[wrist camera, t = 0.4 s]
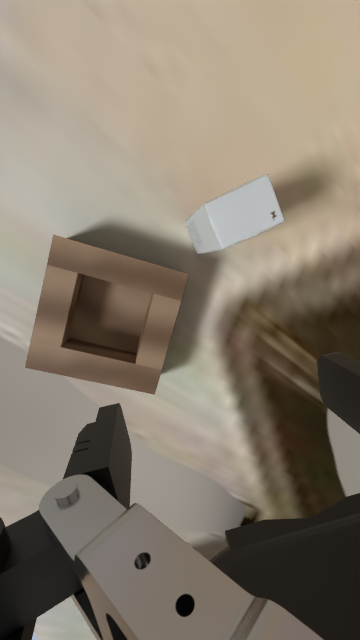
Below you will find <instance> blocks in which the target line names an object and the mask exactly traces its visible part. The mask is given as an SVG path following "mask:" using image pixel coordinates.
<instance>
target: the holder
mask: <svg viewBox="0 0 360 640" xmlns="http://www.w3.org/2000/svg"><path fill="white" fill-rule="evenodd" d="M188 276H189V274H187V273H184V272H180V271H177V270H174V269H170V268H167V267H163V266H160V265H156V264H153V263H149V262H146V261H142V260H139V259H136V258H132V257H129V256H125V255H122V254H118V253H115V252H111V251H108V250H104V249H101V248H98V247H94V246H91V245H87V244H84V243H80V242H77V241H73V240H70V239H67V238H63V237H60V236H56V235H53V239H52V244H51V249H50V253H49V258H48V263H47V268H46V272H45V277H44V282H43V286H42V291H41V296H40V300H39V305H38V310H37V314H36V319H35V324H34V328H33V333H32V338H31V342H30V347H29V352H28V357H27V361H26V366H25V367H26V368H30V369H35V370H40V371H44V372H49V373H54V374H59V375H64V376H68V377H73V378H78V379H83V380H88V381H92V382H97V383H102V384H107V385H112V386H116V387H121V388H126V389H131V390H136V391H141V392H145V393H150V394H155V391H156V388H157V384H158V381H159V377H160V374H161V370H162V367H163V363H164V360H165V356H166V353H167V349H168V346H169V342H170V339H171V335H172V332H173V328H174V325H175V321H176V318H177V314H178V311H179V307H180V304H181V300H182V297H183V293H184V290H185V286H186V283H187V279H188Z"/></svg>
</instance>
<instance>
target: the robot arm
mask: <svg viewBox="0 0 360 640" xmlns="http://www.w3.org/2000/svg"><path fill="white" fill-rule="evenodd" d="M317 365H318V377H319V388H320V395H321V398H322V400H323V402H324V404H325V405H326V407H327V408H329V409H330V410H331V411H333V412H334V413H335V414H336V415H337V416H338V417H340V418H341V419H342V420H343V421H345V422H346V423H347V424H348V425H349V426H351V427H352V428H353V429H355V430H356V431H357V432H358V433H359V434H360V361H357V360H355V359H353V358H351V357H349V356H347V355H345V354H343V353H341V352H335V353H330V354H326V355H322V356H319V357H318V360H317ZM131 461H132V451H131V444H130V439H129V435H128V431H127V427H126V424H125V420H124V416H123V412H122V409H121V406H120V404H119V403H117V404H113V405H109V406H105V407H100V408H99V411H98V415H97V418H96V422H94V423H90V424H87V425H86V426H85V427H84V428H83V430H82V431H81V432H80V433H79V434H78V437H77V440H76V443H75V446H74V449H73V453H72V454H71V457H70V460H69V463H68V466H67V469H66V472H65V474H64V478H63V480H61V481H59V482H58V483H56V484H55V485H54V486H52V487H51V488H50V489H49V490H48V491H47V492H46V493H45V495H44V496H43V498H42V499H41V502H40V504H39V510H38V511H36V512H35V513H33V514H31V515H29V516H27V517H25V518H23V519H21V520H19V521H17V522H15V523H13V524H11V525H9V526H7V527H5V525H4V522H3V520H2V518H0V640H32V636H33V632H34V627H35V623H36V619H37V617H38V616H40V615H42V614H43V613H45V612H46V611H48V610H49V609H51V608H53V607H54V606H56V605H57V604H59V603H60V602H62V601H64V600H65V599H67V598H68V597H70V596H71V597H72V599H73V601H74V602H75V604H76V606H77V607H78V609H79V611H80V612H81V614H82V616H83V617H84V619H85V621H86V622H87V624H88V626H89V627H90V629H91V631H92V632H93V634H94V636H95V637H96V639H97V640H360V493H359V494H355V495H351V496H348V497H345V498H343V499H342V500H340V501H338V502H337V503H335V504H334V505H332V506H330V507H329V508H327V509H326V510H324V511H323V512H321V513H319V514H318V515H316V516H314V517H312V518H303V519H274V520H262V521H259V522H255V523H252V524H248V525H245V526H241V527H238V528H234V529H230V530H227V531H225V534H226V539H227V544H228V547H227V548H225V549H224V550H222V551H221V552H219V553H218V554H217V555H216V556H215V557H213V558H212V559H211V560H210V561H208V560H207V559H206V558H205V557H204V556H202V555H201V554H200V553H199V552H197V551H196V550H195V549H194V548H193V547H191V546H190V545H189V544H188V543H186V542H185V541H184V540H183V539H182V538H180V537H179V536H178V535H177V534H175V533H174V532H173V531H172V530H171V529H169V528H168V527H167V526H166V525H164V524H163V523H162V522H161V521H160V520H158V519H157V518H156V517H155V516H154V515H152V514H151V513H150V512H148V511H147V510H146V509H145V508H144V507H142V506H141V505H139V504H137V503H134V504H133V505H132V506H131V507H130V483H131Z"/></svg>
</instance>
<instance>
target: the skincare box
mask: <svg viewBox="0 0 360 640" xmlns="http://www.w3.org/2000/svg"><path fill="white" fill-rule="evenodd" d="M284 221H285V219H284V217H283V214H282V211H281V209H280V206H279V203H278V201H277V198H276V195H275V192H274V189H273V187H272V184H271V181H270V179H269V176H268V174H266V175H264V176H261V177H259V178H257V179H254V180H252V181H250V182H248V183H246V184H243V185H242V186H240V187H238V188H236V189H234V190H232V191H229V192H227V193H225V194H223V195H221V196H219V197H217V198H215V199H213V200H211V201H209V202H206V203H204V204H203V205H202V206H201V207H200V208H199V209H198V210H197V211H196V212H195V213H194V214H193V215H192V216H191V217H190V218H189V219H188V220H187V221H186V222H185V226H186V228H187V231H188V233H189V236H190V238H191V240H192V243H193V245H194V248H195V250H196V252H197V254H202V253H208V252H214V251H219V250H225V249H227V248H229V247H231V246H233V245H235V244H237V243H240V242H242V241H244V240H246V239H249V238H251V237H254V236H256V235H258V234H260V233H262V232H264V231H266V230H268V229H270V228H272V227H275V226H277V225H279V224H281V223H283V222H284Z"/></svg>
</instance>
